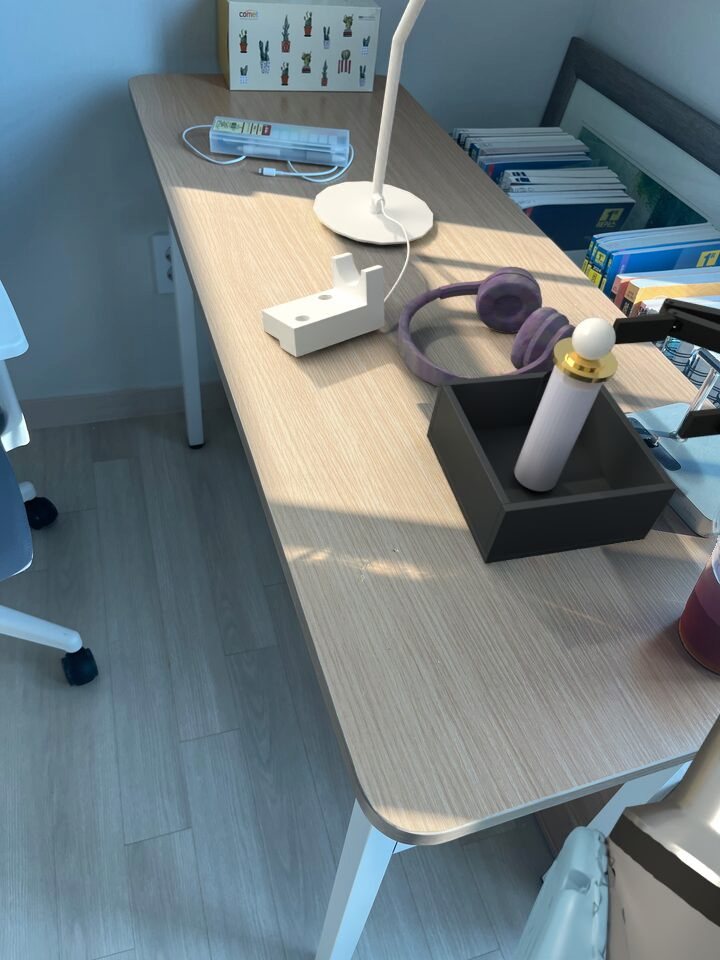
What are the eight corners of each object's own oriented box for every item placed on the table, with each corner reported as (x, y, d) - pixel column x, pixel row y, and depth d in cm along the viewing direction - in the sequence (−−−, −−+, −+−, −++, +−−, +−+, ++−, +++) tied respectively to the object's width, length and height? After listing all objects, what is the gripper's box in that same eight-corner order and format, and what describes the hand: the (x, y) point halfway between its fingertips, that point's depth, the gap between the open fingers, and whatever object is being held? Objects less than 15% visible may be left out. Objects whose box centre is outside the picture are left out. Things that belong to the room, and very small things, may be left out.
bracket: (350, 309, 98) (348, 252, 94) (384, 326, 94) (383, 266, 89) (264, 337, 92) (257, 277, 88) (296, 357, 87) (290, 294, 83)
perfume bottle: (570, 495, 78) (648, 337, 63) (522, 505, 76) (590, 346, 61) (543, 455, 81) (611, 298, 67) (496, 464, 80) (555, 305, 65)
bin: (644, 539, 76) (677, 488, 70) (484, 564, 71) (506, 511, 66) (569, 420, 87) (592, 367, 81) (426, 435, 83) (440, 380, 77)
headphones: (517, 298, 102) (378, 332, 98) (526, 244, 96) (377, 278, 92) (586, 385, 91) (431, 427, 87) (601, 331, 84) (435, 374, 81)
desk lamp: (301, 183, 118) (327, -199, 85) (410, 183, 123) (475, -180, 90) (356, 327, 94) (422, -126, 61) (490, 321, 99) (617, -104, 66)
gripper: (890, 473, 71) (701, 501, 66) (737, 317, 87) (575, 328, 82) (944, 415, 66) (743, 439, 60) (771, 259, 82) (599, 267, 76)
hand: (646, 375), depth 71 cm, fingers open, 13 cm apart
